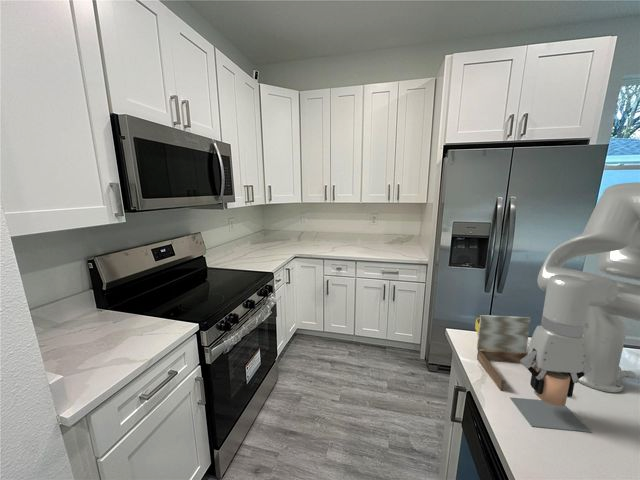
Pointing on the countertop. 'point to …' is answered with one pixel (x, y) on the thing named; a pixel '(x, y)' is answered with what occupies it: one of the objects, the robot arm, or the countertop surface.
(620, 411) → the countertop surface
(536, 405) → the potting mat
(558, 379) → the flowerpot
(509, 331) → the wooden bench
